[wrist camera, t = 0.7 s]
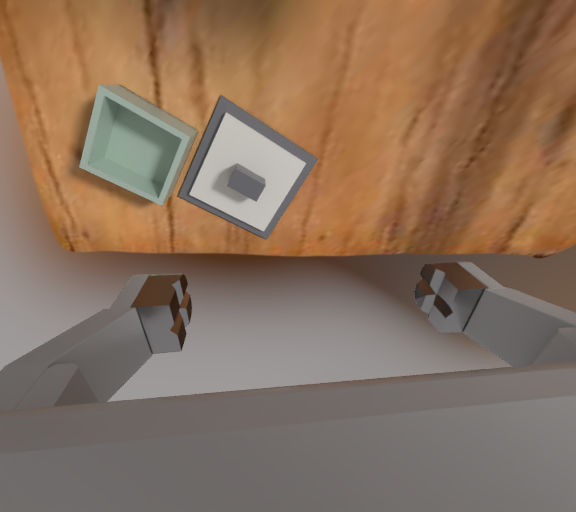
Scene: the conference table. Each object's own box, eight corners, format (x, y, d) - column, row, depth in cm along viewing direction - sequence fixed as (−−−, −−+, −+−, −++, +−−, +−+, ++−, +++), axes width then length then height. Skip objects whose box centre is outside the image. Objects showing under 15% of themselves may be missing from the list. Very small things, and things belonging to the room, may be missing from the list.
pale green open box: (120, 85, 36) (98, 84, 31) (198, 130, 40) (190, 137, 35) (101, 157, 41) (79, 167, 36) (172, 192, 45) (162, 205, 40)
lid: (226, 112, 39) (223, 114, 35) (305, 162, 44) (309, 169, 40) (190, 193, 45) (184, 202, 41) (263, 229, 50) (264, 240, 46)
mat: (221, 95, 38) (221, 95, 38) (317, 158, 44) (318, 159, 44) (178, 195, 45) (178, 196, 45) (266, 238, 51) (266, 239, 51)
